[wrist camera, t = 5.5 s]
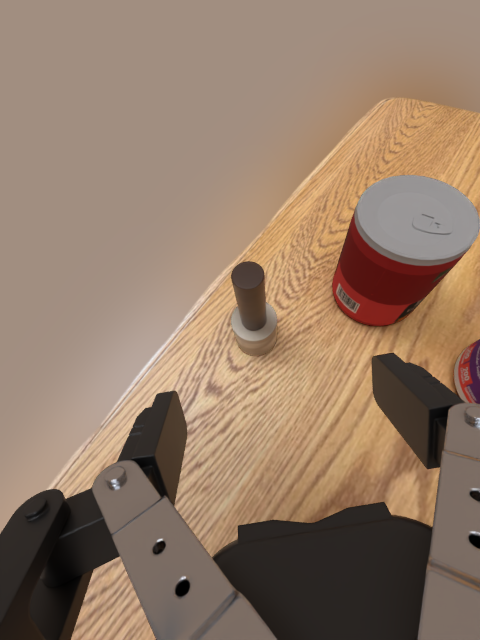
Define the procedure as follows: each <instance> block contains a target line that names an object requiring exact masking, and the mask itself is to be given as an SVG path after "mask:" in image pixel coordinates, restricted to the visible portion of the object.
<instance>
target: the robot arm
mask: <svg viewBox="0 0 480 640" xmlns="http://www.w3.org/2000/svg"><path fill="white" fill-rule="evenodd" d="M372 383H373V394H374V398H375V400H376V402H377V404H378V406H379V407H380V408H381V410H382V411H383V412H384V414H385V415H386V416H387V418H388V419H389V420H390V421H391V423H392V424H393V425H394V427H395V428H396V429H397V431H398V432H399V433H400V434H401V436H402V437H403V438H404V440H405V441H406V442H407V444H408V445H409V446H410V448H411V449H412V450H413V451H414V453H415V454H416V455H417V457H418V458H419V459H420V461H421V462H422V463H423V464H424V466H425V467H426V468H427V469H432V468H438V467H440V474H439V481H438V489H437V497H436V505H435V513H434V521H433V527H431V526H429V525H427V524H424V523H422V522H419V521H417V520H414V519H410V518H407V517H402V516H397V515H391V514H390V512H389V510H388V508H387V506H386V504H385V502H380V503H374V504H368V505H362V506H356V507H350V508H346V509H344V510H342V511H340V512H337V513H335V514H333V515H331V516H329V517H326V518H324V519H322V520H320V521H318V522H315V523H302V522H291V521H280V520H270V521H263V522H257V523H251V524H245V525H239V526H238V539H237V540H235V541H233V542H231V543H230V544H228V545H226V546H225V547H223V548H222V549H221V550H219V551H218V552H217V553H216V554H215V555H214V556H213V557H211V556H210V555H209V553H208V552H207V551H206V549H205V548H204V547H203V545H202V544H201V542H200V541H199V540H198V538H197V537H196V536H195V534H194V533H193V532H192V530H191V529H190V528H189V526H188V525H187V523H186V522H185V521H184V519H183V518H182V517H181V515H180V514H179V513H178V511H177V510H176V508H175V507H174V504H175V499H176V494H177V488H178V483H179V477H180V472H181V467H182V461H183V456H184V451H185V445H186V440H187V425H186V420H185V417H184V414H183V410H182V407H181V403H180V400H179V396H178V394H177V392H176V391H170V392H164V393H158V394H157V395H156V397H155V400H154V402H153V405H152V407H149V408H145V409H144V410H143V411H142V412H141V413H140V414H139V416H138V417H137V418H136V420H135V423H134V425H133V428H132V429H131V432H130V434H129V436H128V438H127V441H126V443H125V445H124V447H123V449H122V452H121V454H120V456H119V458H118V461H117V462H116V463H114V464H112V465H110V466H109V467H107V468H106V469H104V470H103V471H102V472H101V473H100V474H99V475H98V476H97V478H96V479H95V481H94V483H93V486H92V488H91V489H88V490H86V491H84V492H81V493H79V494H77V495H74V496H72V497H70V498H67V499H65V497H64V495H63V493H62V492H61V491H60V490H57V489H51V490H46V491H43V492H41V493H39V494H36V495H35V496H33V497H31V498H30V499H28V500H27V501H26V502H25V503H24V504H22V505H21V506H20V507H19V508H18V509H17V510H16V511H15V513H14V514H13V515H12V517H11V518H10V520H9V522H8V523H7V525H6V526H5V528H4V529H3V531H2V532H1V534H0V640H71V637H72V634H73V631H74V628H75V625H76V622H77V618H78V615H79V612H80V609H81V606H82V603H83V600H84V597H85V594H86V591H87V588H88V585H89V582H90V579H91V576H92V573H93V570H94V569H95V568H97V567H99V566H101V565H103V564H105V563H107V562H109V561H111V560H113V559H115V558H117V557H119V556H120V557H121V559H122V562H123V564H124V566H125V569H126V571H127V573H128V576H129V578H130V580H131V582H132V585H133V587H134V589H135V592H136V594H137V596H138V599H139V601H140V603H141V606H142V608H143V610H144V612H145V615H146V617H147V619H148V622H149V624H150V626H151V629H152V631H153V633H154V636H155V638H156V640H480V404H477V403H466V402H465V401H463V400H462V399H461V398H460V397H458V396H457V395H456V394H455V393H453V392H452V391H451V390H450V389H448V388H447V387H446V386H445V385H444V384H442V383H440V381H439V380H437V379H436V378H435V377H432V375H431V374H430V373H429V372H427V371H426V370H425V369H424V368H422V367H420V366H417V365H415V364H412V363H405V362H404V361H402V360H401V359H400V358H399V357H398V356H397V355H395V354H394V353H388V354H383V355H377V356H373V358H372Z"/></svg>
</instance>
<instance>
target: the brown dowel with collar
mask: <svg viewBox="0 0 480 640" xmlns="http://www.w3.org/2000/svg"><path fill="white" fill-rule="evenodd" d="M231 279H232V283H233V287H234V292H235V296H236V300H237V305H238V306H237V307H236V309H235V310H234V312H233V314H232V317H231V325H232V328H233V332H234V335H235V338H236V341H237V344H238V346H239V348H240V349H241V350H242V351H243V352H245V353H246V354H249V355H252V356H260V355H264V354H266V353H268V352H269V351H270V350H271V349H272V348H273V347H274V345H275V343H276V340H277V315H276V312H275V310H274V309H273V307H272V306H271V305H270V304H268V303H267V302H266V296H265V277H264V270H263V269H262V267H261V266H260V265H259V264H257V263H255V262H249V261H248V262H242V263H240V264H238V265H237V266H236V267H235V268H234V269H233V271H232V274H231Z"/></svg>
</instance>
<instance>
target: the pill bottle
mask: <svg viewBox="0 0 480 640" xmlns="http://www.w3.org/2000/svg"><path fill="white" fill-rule="evenodd" d="M454 381H455V386H456V389H457V392H458V394H459V396H460V398H461V399H462V400H463V401H465V402H466V403H477V404H480V339H479V340H477V341H476V342H474V343H473V344H471V345H469V346H468V347H467V348H466V349H464V351H463V352H462V353H461V354H460V355H459V357H458V359H457V361H456V364H455V368H454Z"/></svg>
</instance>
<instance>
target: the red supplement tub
mask: <svg viewBox="0 0 480 640" xmlns="http://www.w3.org/2000/svg"><path fill="white" fill-rule="evenodd" d="M479 229H480V219H479V216H478V213H477V210H476V209H475V207H474V205H473V204H472V202H471V201H470V200H469V199H468V198H467V197H466V196H465V195H464V194H463V193H461V192H460V191H459V190H457V189H456V188H454V187H452V186H450V185H448V184H447V183H444V182H442V181H439V180H436V179H433V178H429V177H425V176H416V175H400V176H393V177H389V178H386V179H382V180H380V181H378V182H376V183H374V184H373V185H371V186H370V187H369V188H367V189H366V190H365V192H364V193H363V194H362V195H361V197H360V200H359V201H358V204H357V206H356V208H355V211H354V214H353V217H352V219H351V223H350V226H349V229H348V232H347V236H346V239H345V242H344V245H343V249H342V252H341V255H340V258H339V262H338V265H337V268H336V271H335V274H334V278H333V283H332V287H333V293H334V297H335V300H336V302H337V304H338V306H339V307H340V308H341V310H342V311H343V312H344V313H345V314H347V315H348V316H349V317H350V318H352V319H354V320H356V321H358V322H360V323H363V324H367V325H371V326H384V325H389V324H392V323H396V322H399V321H401V320H402V319H404V318H406V317H407V316H408V315H409V314H410V313H411V312H412V311H413V310H414V309H415V308H416V307H417V306H418V305H419V304H420V303H421V301H422V300H423V299H424V298H425V297H426V296H427V295H428V294H429V293H430V292H431V291H432V290H433V288H434V287H435V286H436V285H437V284H438V283H439V282H440V281H441V280H442V279H443V278H444V277H445V275H446V274H447V273H448V272H449V271H450V270H451V269H452V268H453V267H454V266H455V265H456V264H457V262H458V261H459V260H460V259H461V258H462V256H463V255H464V254H465V253H466V252H467V251H468V250H469V248H470V247H471V245H472V244H473V242H474V241H475V239H476V238H477V236H478V233H479Z"/></svg>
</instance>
